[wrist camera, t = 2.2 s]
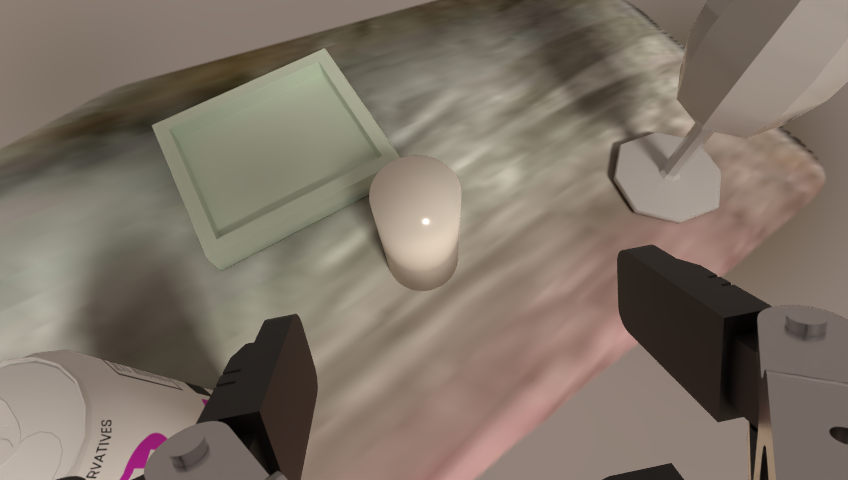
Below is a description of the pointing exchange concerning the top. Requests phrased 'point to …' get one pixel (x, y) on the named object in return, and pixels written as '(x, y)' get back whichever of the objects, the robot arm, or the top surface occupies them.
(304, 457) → the robot arm
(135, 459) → the supplement can
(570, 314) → the top surface
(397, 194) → the white domed cylinder
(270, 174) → the tray
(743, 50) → the wineglass
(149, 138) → the top surface
